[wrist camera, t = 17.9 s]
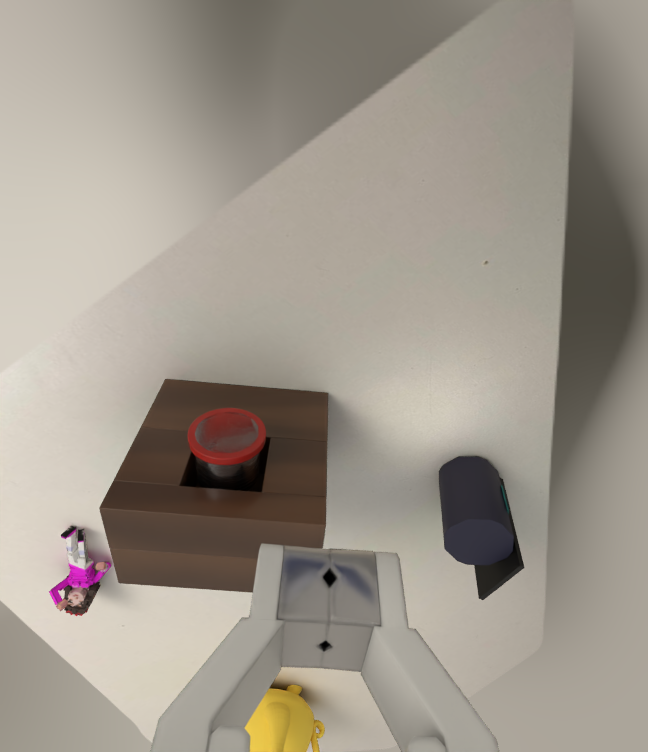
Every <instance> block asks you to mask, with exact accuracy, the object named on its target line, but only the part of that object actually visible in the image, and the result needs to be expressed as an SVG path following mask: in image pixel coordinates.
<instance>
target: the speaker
mask: <svg viewBox="0 0 648 752" xmlns="http://www.w3.org/2000/svg"><path fill="white" fill-rule="evenodd" d="M439 487H440V499H441V511H442V523H443V535H444V547H445V550H446V551H447V552H448V553H449V554H451V555H452V556H453V557H454V558H455V559H456V560H457V561H459V562H462V563H464V564H467V565H474V566H475V573H476V580H477V588H478V595H479V599H482V600H484V599H485V598H486V597H488V596H489V595H490V594H491V593H493V592H494V591H495V590H497V589H498V588H499V587H500V586H502V585H503V584H504V583H505V582H507V581H508V580H509V579H511V578H512V577H513V576H514V575H516V574H517V573H518V572H519V571H521V570H522V569H523V568H524V564H523V560H522V556H521V552H520V548H519V544H518V539H517V535H516V531H515V527H514V523H513V519H512V515H511V511H510V506H509V502H508V498H507V494H506V490H505V486H504V482H503V479H501V478H500V477H499V474H498V471H497V470H496V469H495V468H494V467H493V466H492V465H491V464H490V463H489V462H488V461H487V460H486V459H483V458H480V457H457V458H455V459H453V460H452V461H450V462H448V463H446V464H444V465H443V466H442V468H441V469H440V471H439Z"/></svg>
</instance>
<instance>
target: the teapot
mask: <svg viewBox="0 0 648 752" xmlns="http://www.w3.org/2000/svg"><path fill="white" fill-rule="evenodd" d="M301 690H302V688H301V687H300V686H297V685H290V686H288V687H287V690H286V691H285V690H280V689H268V691H267V693H266V694H265V696H264V697H263V699H262V701H261V702H260V704H259V705H258V707H257V709H256V710H255V712H254V713H253V715H252V717H251V718H250V720H249V721H248V723H247V725H246V726H245V729H246V731H247V732H248V733H249V735H250V752H306V751H307V749H308V746H309V743H310V741H311V743H312V749H313V752H320V751H319V745H318V740H317V738H321V737H322V736H323V734H324V731H325V728H324V725H323V723H322V722H321V721H319V720H314V716H313V713H312V711H311V709H310V707H309V706H308V704H307V703H306V702H305V700H304V699H303V698H302V697H300V696H299V694H300V692H301ZM316 727H317V728H318V729H319V731H320V733H319V734H318V733H316Z"/></svg>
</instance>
